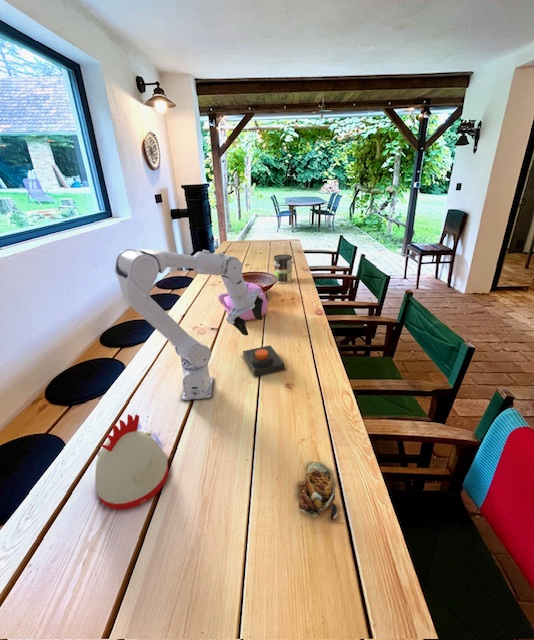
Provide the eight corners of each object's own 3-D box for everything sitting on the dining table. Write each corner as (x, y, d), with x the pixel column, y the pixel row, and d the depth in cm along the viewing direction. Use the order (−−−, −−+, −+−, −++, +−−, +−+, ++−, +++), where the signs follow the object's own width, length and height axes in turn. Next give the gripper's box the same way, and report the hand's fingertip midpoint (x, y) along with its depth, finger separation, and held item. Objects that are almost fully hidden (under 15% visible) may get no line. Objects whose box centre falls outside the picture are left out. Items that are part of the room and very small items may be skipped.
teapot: (213, 315, 144) (209, 283, 137) (254, 304, 153) (252, 274, 147) (236, 334, 126) (232, 298, 119) (281, 321, 135) (280, 287, 129)
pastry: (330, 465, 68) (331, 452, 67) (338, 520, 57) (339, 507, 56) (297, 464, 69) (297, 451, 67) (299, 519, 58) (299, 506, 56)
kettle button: (269, 358, 102) (269, 353, 101) (257, 361, 100) (257, 356, 100) (265, 352, 105) (265, 348, 104) (253, 355, 104) (253, 350, 103)
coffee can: (279, 284, 180) (278, 259, 174) (271, 279, 189) (270, 255, 183) (295, 281, 184) (295, 257, 178) (286, 276, 192) (286, 253, 187)
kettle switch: (284, 369, 102) (284, 358, 100) (254, 376, 99) (254, 365, 98) (270, 350, 113) (270, 340, 112) (243, 356, 110) (242, 346, 109)
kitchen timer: (182, 467, 69) (171, 412, 63) (128, 522, 59) (108, 462, 52) (139, 443, 76) (124, 392, 70) (83, 489, 65) (61, 433, 59)
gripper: (233, 309, 89) (248, 344, 97) (262, 280, 97) (274, 314, 105) (215, 305, 93) (231, 339, 101) (245, 277, 101) (258, 311, 109)
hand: (252, 326), depth 103 cm, fingers open, 7 cm apart
